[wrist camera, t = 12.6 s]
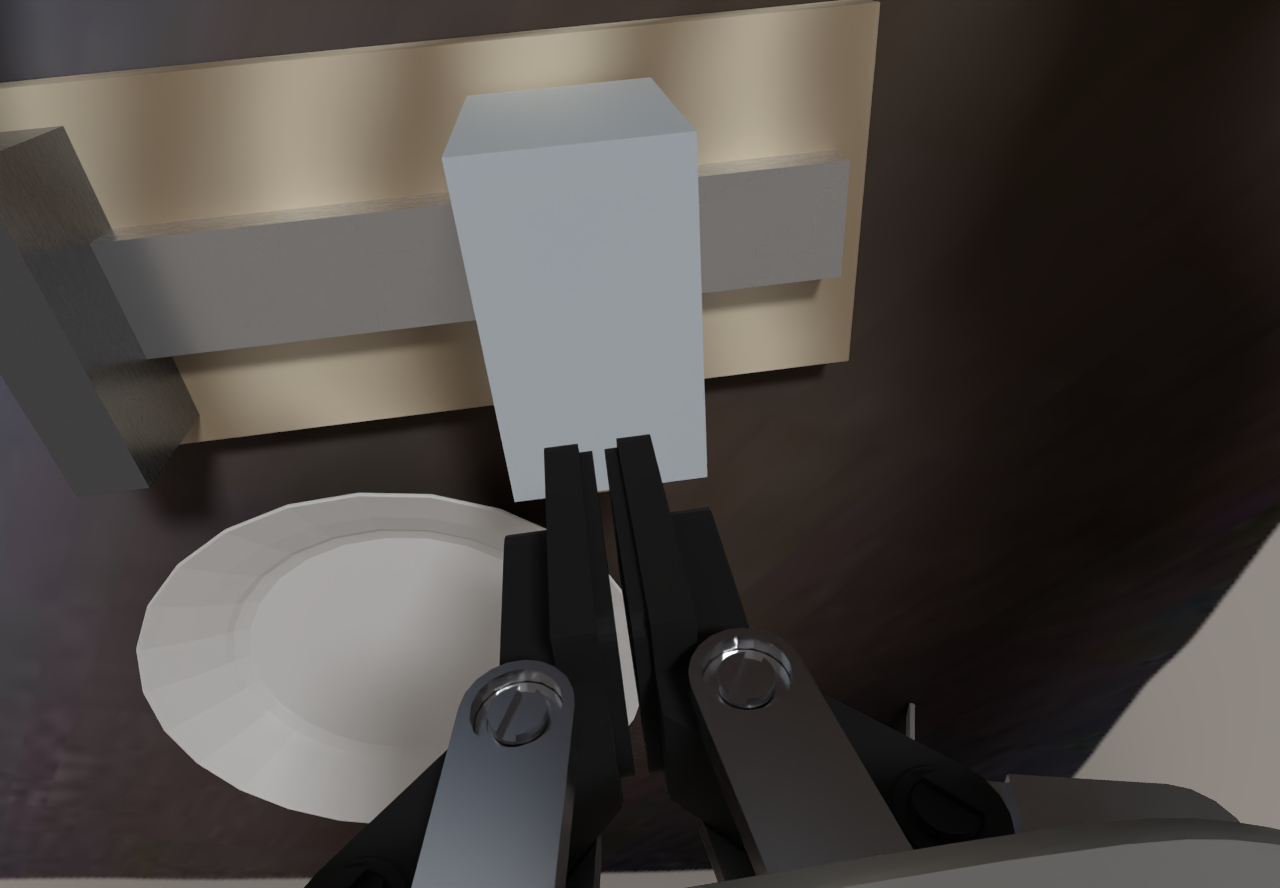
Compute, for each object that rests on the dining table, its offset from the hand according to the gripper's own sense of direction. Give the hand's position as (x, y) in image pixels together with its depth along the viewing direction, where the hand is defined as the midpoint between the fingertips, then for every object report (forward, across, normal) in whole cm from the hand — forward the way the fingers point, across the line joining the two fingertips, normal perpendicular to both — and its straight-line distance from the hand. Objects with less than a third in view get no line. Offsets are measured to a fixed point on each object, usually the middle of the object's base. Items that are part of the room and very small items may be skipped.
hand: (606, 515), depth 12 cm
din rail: (+13, +4, 0) cm, 14 cm away
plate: (+15, +9, +18) cm, 26 cm away
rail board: (+15, +4, 0) cm, 15 cm away
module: (+13, 0, 0) cm, 13 cm away
